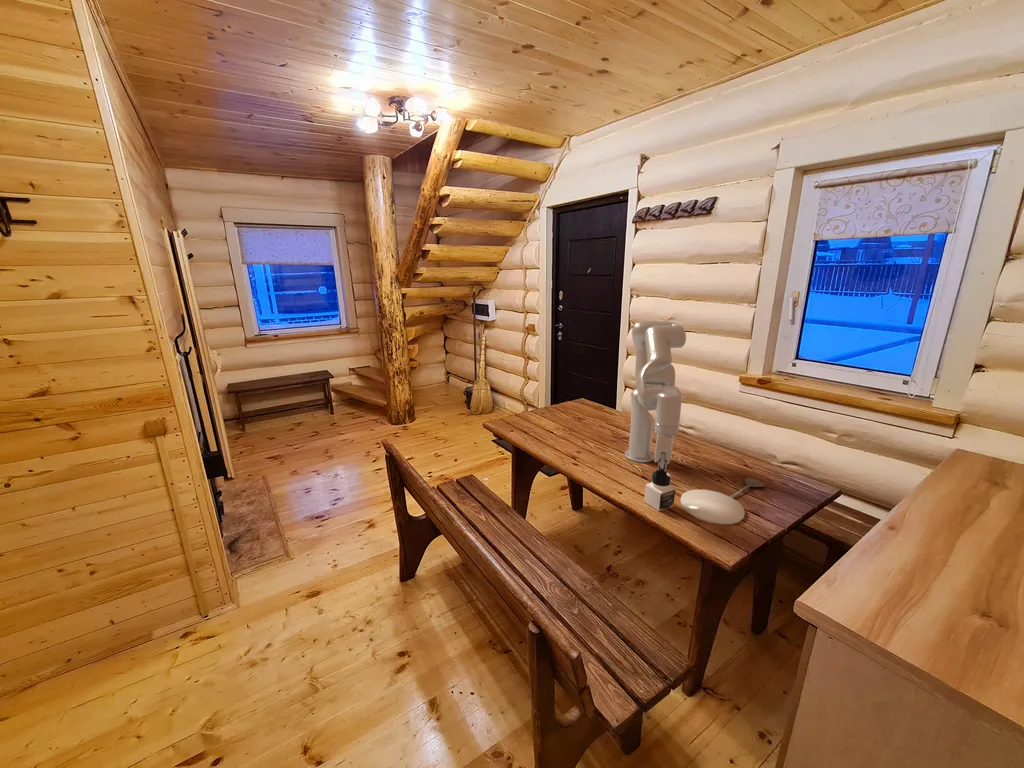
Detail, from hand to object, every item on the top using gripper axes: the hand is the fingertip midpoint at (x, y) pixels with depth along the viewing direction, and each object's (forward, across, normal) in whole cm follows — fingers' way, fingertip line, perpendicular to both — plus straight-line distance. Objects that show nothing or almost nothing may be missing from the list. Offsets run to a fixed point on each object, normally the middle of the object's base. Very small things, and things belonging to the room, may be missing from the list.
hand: (661, 474), depth 139 cm
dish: (+12, -5, +17) cm, 21 cm away
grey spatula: (+12, -23, +29) cm, 38 cm away
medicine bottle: (+12, 0, 0) cm, 12 cm away
